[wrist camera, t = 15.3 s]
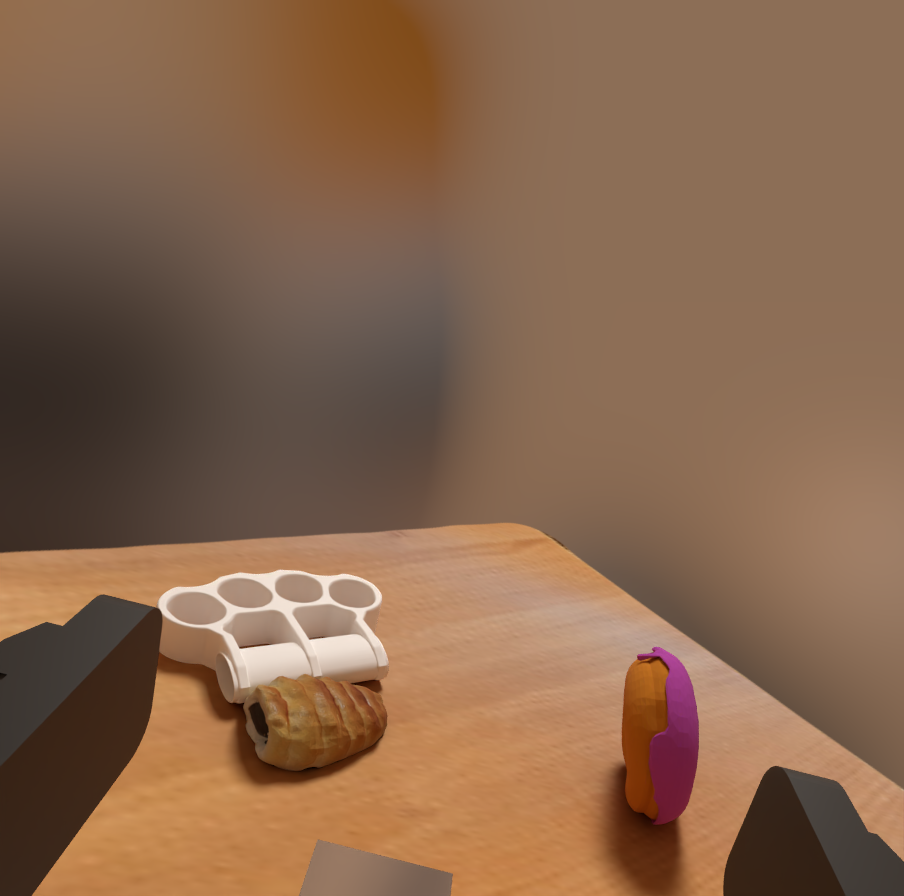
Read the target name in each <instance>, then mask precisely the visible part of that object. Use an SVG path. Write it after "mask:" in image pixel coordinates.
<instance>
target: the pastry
mask: <svg viewBox="0 0 904 896" xmlns="http://www.w3.org/2000/svg"><path fill="white" fill-rule="evenodd" d="M243 709H244V712H245V715H246V721H247V723H246V730H247V733H248V735H249V736H250V737H251V739H252V740H253V741H254V743H255V744H256V745H255V751H256V753H257V755H258V758H259V759H261V760H262V761H264V762H266V763H268V764H271V765H274V766H276V767H278V768H280V769H284V770H293V771H301V770H303V769H305V768H309V767H317V768H320V767H323V766H326V765H330V764H333V763H334V762H336V761H339V760H343V759H345V758H346V757H349V756H351V755H353V754H355V753H358V752H360V751H362V750H364V749H366V748H368V747H370V746H372V745H373V744H374V743H375V742H376V741H377V740H378V739H379V738H380V737H381V736H382V735H383V733H384V731H385V729H386V726H387V712H386V709H385V707H384V705H383V700H382V697H381V695H380V694H377V693H376V692H373V691H372V690H370V689H368V688H366V687H363V686H358V685H352V684H350V683H349V682H348V681H341V682H336V681H334V680H332V679H331V678H329V677H323V678H320V679H316V678H313V677H312V676H310V675H308V674H303V675H301V676H299V677H298V678H297V679H296V680H294V679H291V678H287V677H284V676H279V677H277V678H276V679H274V680H273V681H272V682H271V683H270V684H269V685H268V686H266V685H258V686H257V687H256V689H255V690H254V691H252V692H251V693H250V694H249V696H248V697H247V698H246V700H245V703H244V706H243Z"/></svg>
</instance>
